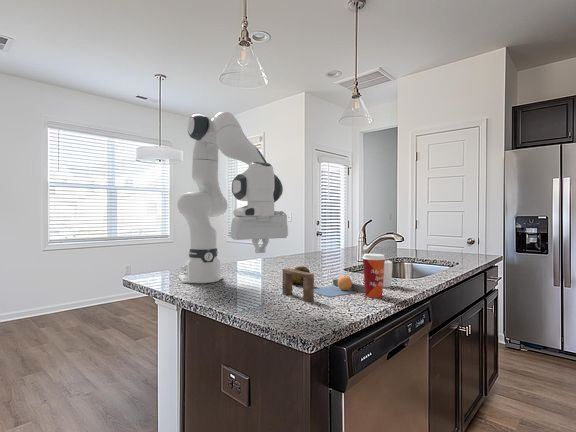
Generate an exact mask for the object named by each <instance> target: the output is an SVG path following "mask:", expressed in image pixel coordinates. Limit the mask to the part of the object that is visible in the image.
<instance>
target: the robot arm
mask: <svg viewBox="0 0 576 432" xmlns="http://www.w3.org/2000/svg"><path fill="white" fill-rule="evenodd" d="M187 134H188V136H189V137H190V138H191V139H193V140H195V142H194V146H193V151H192V162H191V163H192V164H191V166H192V167H191V178H192V180H193V182H194V183H196V185H197V187H198V191H189V192H184V193H181V194H180V196H179V197H178V199H177V205H176V206H177V209H178V211H179V213H180V214H181V216H183V217H184V218H185V220H186V222H187V226H188V228H189V233H190V235H189V236H190V249H189V251H188V259H187V260H186V262H185V263H184V264H183V265H182V266H181V267H180V271H181V272H183V273H182V274H179V275H178V279H179V281H180V282H181V283H183V284H184V283H185V284H188V283H189V284H190V283H191V284H207V283H215V282H219V281H220V280H222V279H224V275H222V272H221V271H222V270H221V261H220V260H219V258H218V247H217V231H216V229H215V228H214V227H213V225H212V224H211V222H210V218H217V217H220V216H223V215H224V214H225V213H226V211H228V210H227V209H228V201H227V199H226V197H225V196H224V195H223V193H222V191H221V188H220V183H219V151H220V152H221V153H222V154H223V155H224V156H225V157H228V158H229V159H234V160H235V161H236V160H237V161H239V162H242V163H245V164H246V165H248V167H247V169H246V170H244V171H243V172H242V173H239V174H237V175H236V176H234V178H233V179H232V181H231V182H232V183H231V193H232V195H233V196H234V197H235V199H236V200H238V201H241V202H247V205H244V206H241V207H237V208H235V209H233V212H232V214H233V216H234V217H233V218H232V219H231V224H230V238H231V239H232V240H236V241H241V240H242V241H243V240H244V241H245V240H251V243H252V244H253V246H254V252H255V254H265V253H266V248H267V246H268V244H269V243H270V241H269V240H270V239H271V240H272V239H286V238H288V235H289V228H288V227H289V226H288V215H287V214H286V212H284V211H283V210H281V211H279V210H275V203H276V202H277V201H278V200H279V199H280V198H281V196H282V195H283V192H284V187H283V184H282V181H281V179H280V178H279V177H278V176H277V175H276V174H275V172H274V171H275V170H274V167H273V165H272V164H270V163H268V162H267V161H266V159H265V157H264V156H263V154H262V152H261V151H260V150H259V148H258V147H256V145H254V144H253V143H252V142H251V141H250V139H248V137H247V136H246V135H245V133H244V131H243V128H242V126H241V125H240V123H239V120H238V119H237V118H236V117H235V115H234V114H233V113H231V112H229V111H221V112H218V113H216V114H215V116H212V115H207V114H202V113H200V114H199V113H198V114H197V113H196V114H195V113H194V114H193V115H191V116H190V117H189V120H188V123H187ZM260 240H261V242H262V244H261V246H260V245H259V243H260Z"/></svg>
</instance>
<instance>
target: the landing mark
mask: <svg viewBox="0 0 576 432" xmlns="http://www.w3.org/2000/svg"><path fill="white" fill-rule="evenodd" d="M356 292H357V291H354V290H350V289H349V290H346V291H344V290H341V289H340V288H339V287H338V286H334V285H331V286H326V287H325V286H323V287H319V288H318V287H317V288H314V294H317V295H321V296H324V297H328V298H335V297H339V296H345V295H350V294H355V293H356Z"/></svg>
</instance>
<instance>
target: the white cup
mask: <svg viewBox="0 0 576 432" xmlns="http://www.w3.org/2000/svg"><path fill="white" fill-rule="evenodd" d="M393 264H394V263H393V261H390V260H385V262H384V278H383V288H391V287H392V278H393Z"/></svg>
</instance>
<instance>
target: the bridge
mask: <svg viewBox="0 0 576 432" xmlns="http://www.w3.org/2000/svg"><path fill="white" fill-rule="evenodd" d="M292 275H295V276H299V277H303V283H302V286H303V287H302V289H303V291H302V292H303V293H302V295H303V296H302V298H303V299H302V301H303V302H305V303H310V302H314V301H315V300H314V299H315V293H314V289H315V274H314V273H311V272H310V273H308V272H303V271H299V270H294V268H283V269H282V295H284V296H287V295H289V296H290V295H293V282H292Z"/></svg>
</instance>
